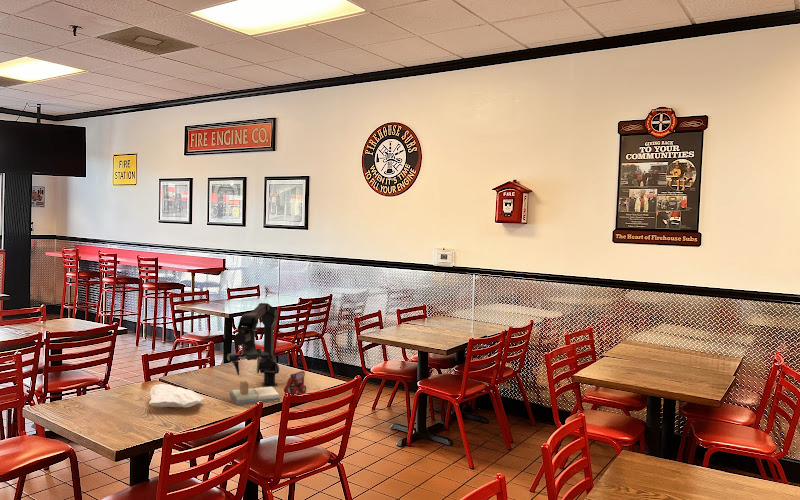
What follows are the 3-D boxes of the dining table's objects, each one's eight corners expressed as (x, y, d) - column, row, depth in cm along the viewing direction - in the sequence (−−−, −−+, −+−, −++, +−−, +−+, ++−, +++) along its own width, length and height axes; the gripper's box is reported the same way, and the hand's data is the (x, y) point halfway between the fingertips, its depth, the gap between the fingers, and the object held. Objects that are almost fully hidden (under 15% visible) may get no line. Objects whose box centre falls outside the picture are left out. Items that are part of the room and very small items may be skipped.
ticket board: (229, 394, 301) (230, 388, 300) (270, 390, 309) (271, 385, 309) (236, 405, 284) (236, 399, 284) (279, 400, 293) (279, 394, 293)
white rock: (167, 418, 260) (170, 396, 260) (127, 400, 282) (130, 380, 283) (215, 414, 277) (218, 394, 278) (174, 397, 300) (177, 378, 301)
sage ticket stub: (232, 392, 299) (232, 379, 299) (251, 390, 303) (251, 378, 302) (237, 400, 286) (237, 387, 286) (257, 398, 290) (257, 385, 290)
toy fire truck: (280, 395, 303) (281, 374, 302) (298, 389, 313) (298, 369, 312) (291, 397, 299) (292, 376, 298) (308, 391, 309) (309, 371, 309)
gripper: (232, 345, 281) (231, 380, 282) (272, 343, 290) (272, 376, 290) (227, 341, 291) (226, 374, 292) (266, 339, 300) (265, 371, 300)
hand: (248, 374), depth 293 cm, fingers open, 9 cm apart
